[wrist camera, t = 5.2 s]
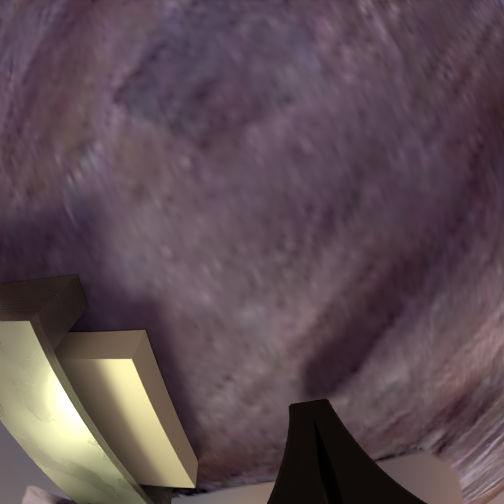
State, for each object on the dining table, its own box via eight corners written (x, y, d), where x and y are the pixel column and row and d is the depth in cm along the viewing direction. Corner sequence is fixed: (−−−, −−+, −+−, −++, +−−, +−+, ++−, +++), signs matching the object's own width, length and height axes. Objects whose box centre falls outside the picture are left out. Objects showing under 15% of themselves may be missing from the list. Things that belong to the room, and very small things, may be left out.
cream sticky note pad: (145, 329, 10) (131, 358, 8) (198, 461, 13) (195, 487, 11) (19, 332, 10) (0, 353, 9) (92, 453, 13) (84, 475, 11)
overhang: (77, 274, 9) (29, 320, 6) (174, 480, 13) (167, 525, 11) (-13, 285, 9) (-57, 320, 7) (96, 471, 14) (83, 510, 11)
